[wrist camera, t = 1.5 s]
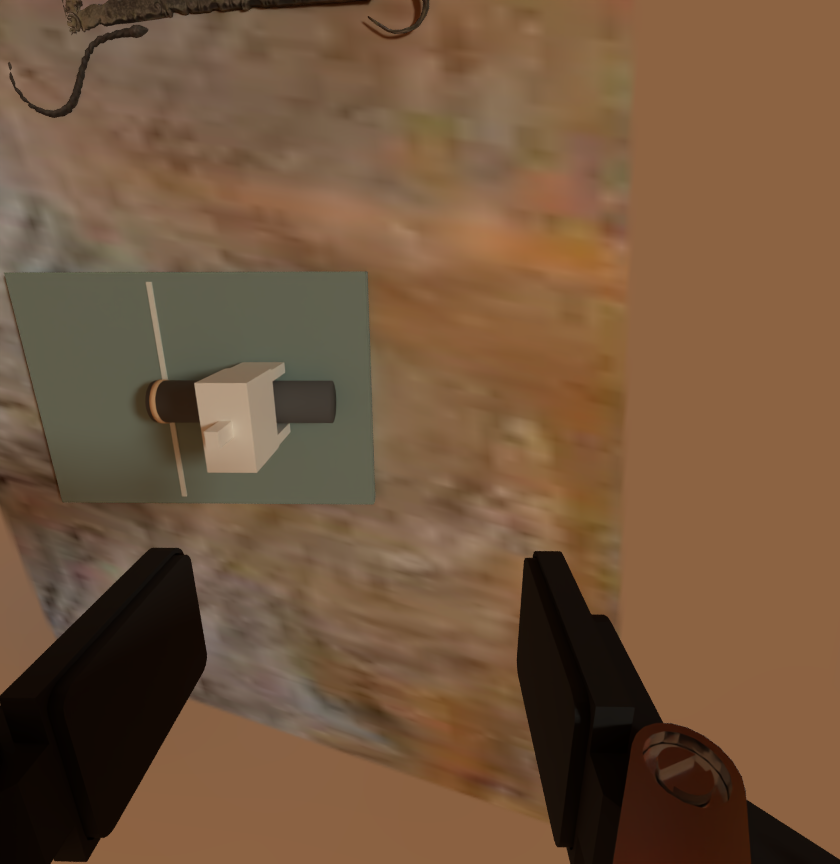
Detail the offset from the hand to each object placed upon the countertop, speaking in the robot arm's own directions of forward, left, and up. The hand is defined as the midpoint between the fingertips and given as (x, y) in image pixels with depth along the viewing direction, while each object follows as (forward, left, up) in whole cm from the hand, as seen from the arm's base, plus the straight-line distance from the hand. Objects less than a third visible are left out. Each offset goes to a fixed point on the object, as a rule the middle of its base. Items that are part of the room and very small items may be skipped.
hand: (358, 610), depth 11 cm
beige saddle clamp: (0, -8, -19) cm, 20 cm away
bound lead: (0, -9, -19) cm, 21 cm away
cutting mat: (0, -12, -20) cm, 23 cm away
